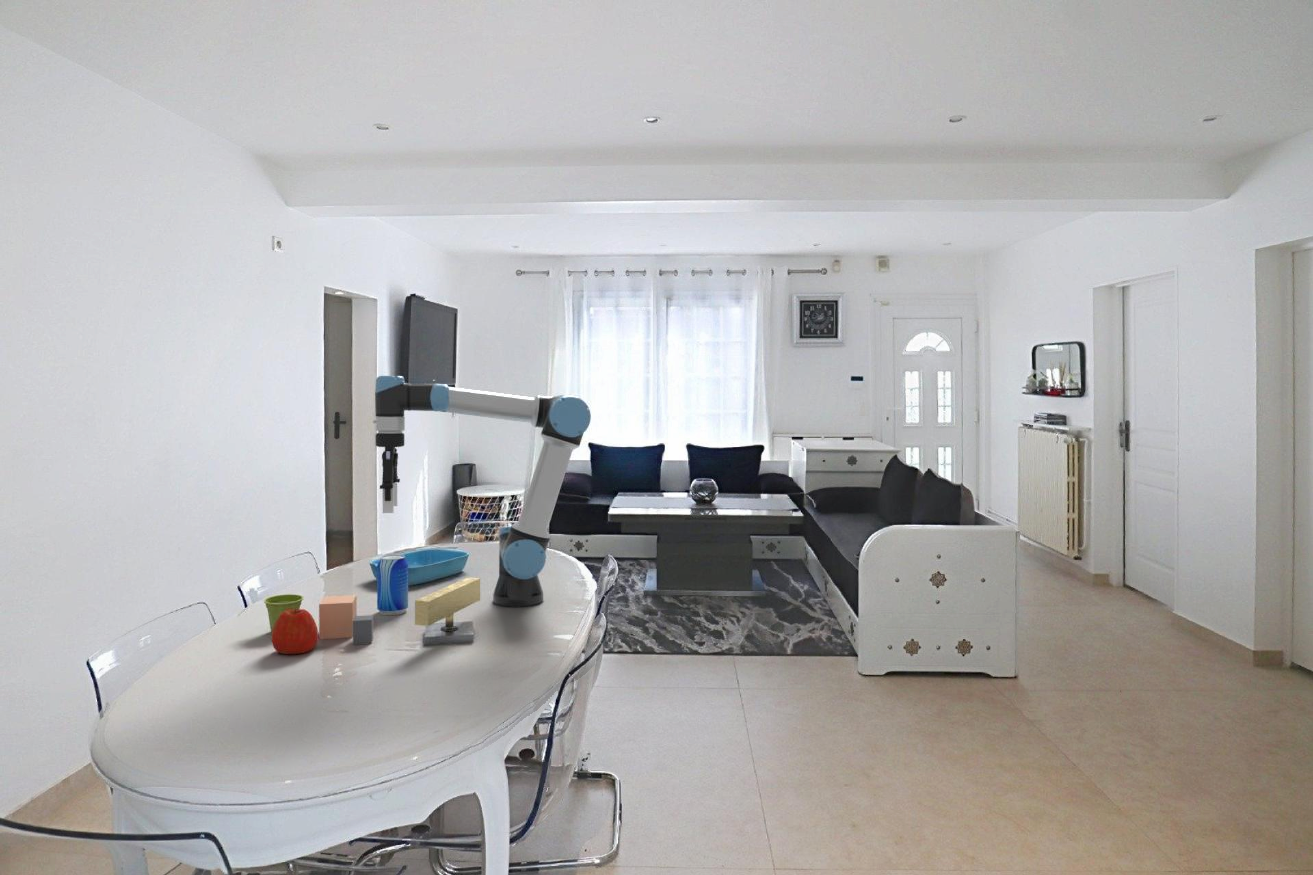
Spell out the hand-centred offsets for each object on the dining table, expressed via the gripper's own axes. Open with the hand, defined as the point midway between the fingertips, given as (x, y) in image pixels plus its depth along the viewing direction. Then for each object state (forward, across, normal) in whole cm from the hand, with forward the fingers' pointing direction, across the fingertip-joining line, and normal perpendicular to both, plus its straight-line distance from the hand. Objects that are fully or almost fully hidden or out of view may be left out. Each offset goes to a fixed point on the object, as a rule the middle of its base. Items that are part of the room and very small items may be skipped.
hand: (390, 509), depth 218 cm
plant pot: (+31, +6, -26) cm, 41 cm away
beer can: (+31, -8, 0) cm, 32 cm away
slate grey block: (+31, +19, -5) cm, 36 cm away
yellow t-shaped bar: (+28, +19, +16) cm, 38 cm away
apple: (+31, +24, -20) cm, 44 cm away
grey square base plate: (+31, +19, +16) cm, 39 cm away
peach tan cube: (+31, +11, -12) cm, 35 cm away
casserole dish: (+31, -54, +6) cm, 62 cm away
